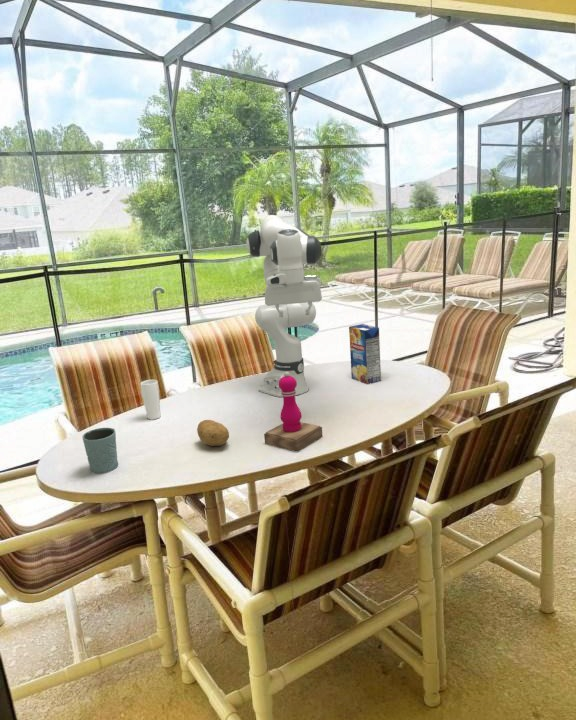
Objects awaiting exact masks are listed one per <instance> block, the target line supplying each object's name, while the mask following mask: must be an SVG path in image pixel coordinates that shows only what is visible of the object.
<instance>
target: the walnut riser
mask: <svg viewBox="0 0 576 720" xmlns="http://www.w3.org/2000/svg"><path fill="white" fill-rule="evenodd" d="M300 422H301V429H300V430H298V431H293V432H287V431H284V430H283V423H281V424H279V425H277V426H275V427H273V428H272V429H270V430H268V431H266V432H265V433H263V437H264V444H265V445H270V446H271V447H273V446H274V447H277V448H280V449H285V450H289V451H293V452H297V453H299V452H300V451H302V450H303V449H305V448H307V447H309V446H310V445H312V444H313V443H315V442H317V441H318V440H320V439H321V438H323V427H322V426H321V425H317V424H314V423H313V424H312V423H307V422H303V421H300Z"/></svg>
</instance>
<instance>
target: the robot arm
mask: <svg viewBox="0 0 576 720" xmlns="http://www.w3.org/2000/svg"><path fill="white" fill-rule="evenodd" d="M245 243H246V248H247V249H246V250H247V251H248V253H249V255H250V256H252V257H253V258H255V257H257V258H259V257H264V259H263V263H262V264H263V265H262V267H263V275H264V276H263V277H264V281H265V290H264V303H265V304H263V305H260V306H258V307H257V308H256V311H255V314H254V320H255V322H256V325H257V326H258V328H259V329H261V330H262V331H264V332H266V333H267V334H268V335H269V336H270V338H271V340H272V343H273V345H274V351H275V360H273V361H272V362H271V364H272V365H273V368H272V369H271V370H270V371H269V372H267V373H266V374H265V375H264V377H263V381H262V385H261V386H259V387H258V392H262V393H264V394H268V395H271V396H274V397H277V398H283V396H282V395H281V391H282V390H281V389H280V388H279V380H280V379H281V378H282V377H284V373H285V372H289V376H292V377H294V378H295V379H296V382H297V386H296V388H295V390H296V394H295V396H299V395H302V394H305V393H307V392H308V390H309V387H308V384H307V380H306V375H305V371H304V369H305V364H304V363H305V362H304V357H303V352H302V351H303V349H302V342H301V340H300V339H299V337H297V336H295V335H293V334H290V333H287V330H286V329H287V328H296V327H297V328H298V327H303V326H306V325H309V324H312V323H314V321H315V319H316V316H317V309H316V306H315V305H314V303H315V302H317V303H318V302H321V301H322V296H323V295H322V291H321V287H322V285H323V284H322V278H321V277H320V276H318V275H316V274H313V275H305V271H304V265H315V264H317V262H318V261H319V260H320V259H321V257H322V253H323V250H322V244H321V242H320V240H319V239H318V238H317V237H316V236H315V235H310V234H308V233H307V232H306V231H304V230H302V229H300V228H298V227H295V226H294V225H290V224H288V223H287V222H285V220H284V219H282V218H281V217H280V216H278V215H275V214H270V215H269V214H268V215H266V216H264V218H263V219H262V220H261V223H260V229H259V230H257V229H254V231H252V232H250V233H249V234H248V235H247V239H246V242H245Z"/></svg>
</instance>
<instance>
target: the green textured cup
mask: <svg viewBox="0 0 576 720" xmlns="http://www.w3.org/2000/svg"><path fill="white" fill-rule="evenodd" d="M82 441H83V445H84V449H85V453H86V456H87V462H88V464H89V465H88V466H89V470H90V471H91V473H92V474H96V475H97V474H98V475H99V474H106V473H109V472H111V471H114V470H116V469H117V468H118V465H119V463H118V451H117V436H116V430H115V428H112V427H99V428H93V429H91V430H89V431H86V432H85V433H84V434H83V435H82Z"/></svg>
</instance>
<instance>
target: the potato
mask: <svg viewBox="0 0 576 720" xmlns="http://www.w3.org/2000/svg"><path fill="white" fill-rule="evenodd" d="M196 431H197V436H198V438H199V440H200V441H201V442H202V444H205V445H206V446H209V447H220V446H221V447H222V446H223V445H224V444H226V443H227V442H228V441H229V438H230V432H229V430H228V427H226V426H225V425H224V424H222V423H220V422H217V421H214V420H211V419H204V420H201V421H200V422H199V423H198V425H197V429H196Z"/></svg>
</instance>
